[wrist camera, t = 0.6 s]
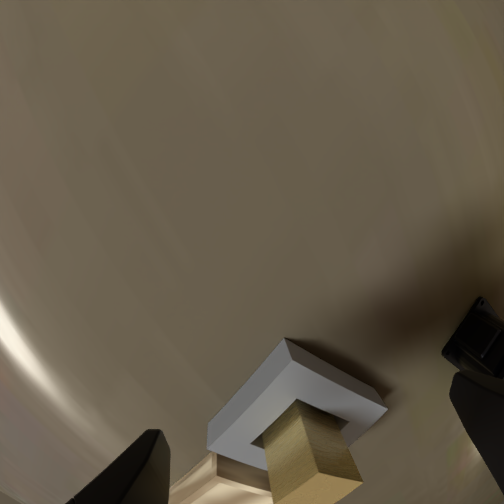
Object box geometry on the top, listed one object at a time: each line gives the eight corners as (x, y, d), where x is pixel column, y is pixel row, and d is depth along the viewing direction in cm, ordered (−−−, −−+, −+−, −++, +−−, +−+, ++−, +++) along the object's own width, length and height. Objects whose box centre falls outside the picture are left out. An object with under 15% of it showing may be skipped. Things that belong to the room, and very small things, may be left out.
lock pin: (327, 401, 23) (363, 482, 14) (296, 431, 23) (319, 512, 14) (290, 383, 22) (318, 472, 13) (259, 416, 22) (273, 504, 14)
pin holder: (373, 388, 23) (388, 409, 20) (299, 458, 24) (305, 481, 21) (283, 337, 21) (292, 359, 18) (208, 423, 22) (206, 449, 19)
